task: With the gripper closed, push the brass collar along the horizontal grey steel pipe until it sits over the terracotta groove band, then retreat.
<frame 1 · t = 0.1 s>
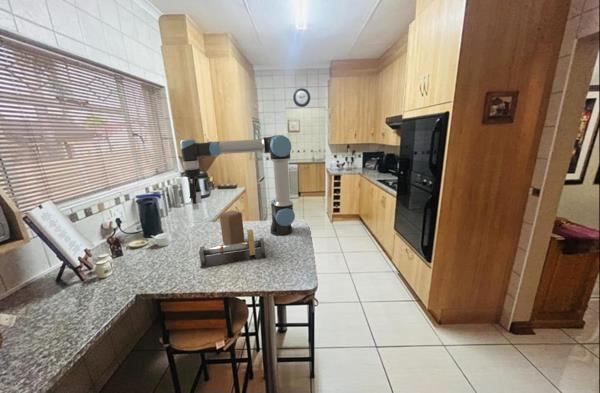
hand: (197, 206, 140), 28 cm above the kitchen counter, fingers open, 13 cm apart
wooden block: (234, 243, 156), on the kitchen counter
pipe rig: (234, 257, 138), on the kitchen counter
collar: (251, 241, 138), point 8 cm above the kitchen counter, slide at 0.0 cm
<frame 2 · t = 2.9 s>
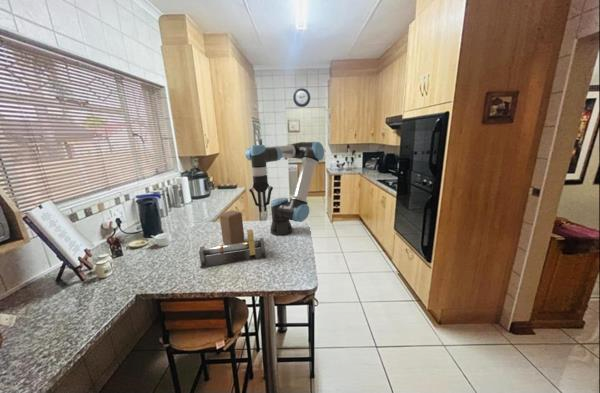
hand: (263, 217, 136), 21 cm above the kitchen counter, fingers closed
nothing on the kitchen counter moved.
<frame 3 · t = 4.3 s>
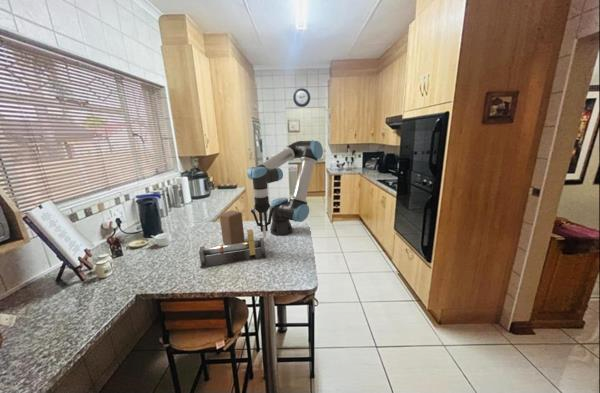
hand: (264, 236, 139), 10 cm above the kitchen counter, fingers closed
nothing on the kitchen counter moved.
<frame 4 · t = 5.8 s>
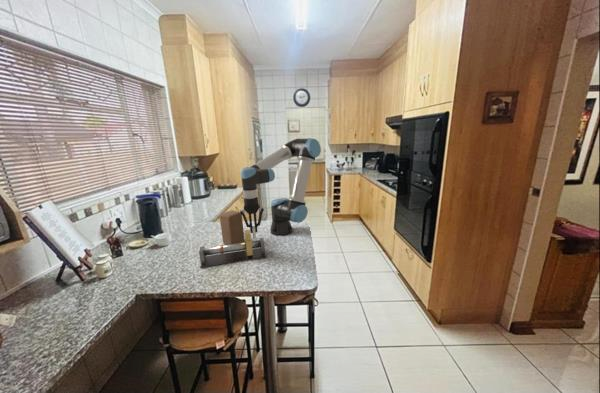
hand: (254, 237, 138), 10 cm above the kitchen counter, fingers closed
collar: (248, 242, 138), point 8 cm above the kitchen counter, slide at 1.5 cm, touching gripper
everything else where it was.
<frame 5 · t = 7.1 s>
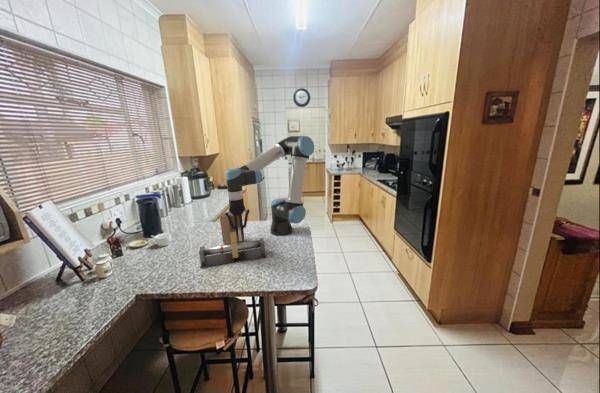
hand: (240, 239, 136), 10 cm above the kitchen counter, fingers closed
collar: (234, 244, 136), point 8 cm above the kitchen counter, slide at 9.1 cm, touching gripper
everything else where it was.
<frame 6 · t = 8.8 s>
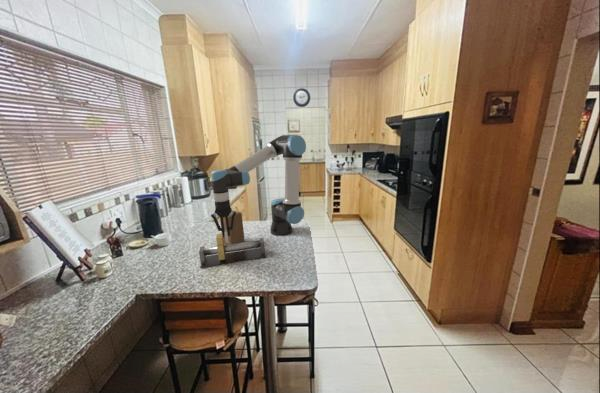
hand: (227, 241, 134), 10 cm above the kitchen counter, fingers closed
collar: (220, 246, 134), point 8 cm above the kitchen counter, slide at 16.2 cm, touching gripper
everything else where it was.
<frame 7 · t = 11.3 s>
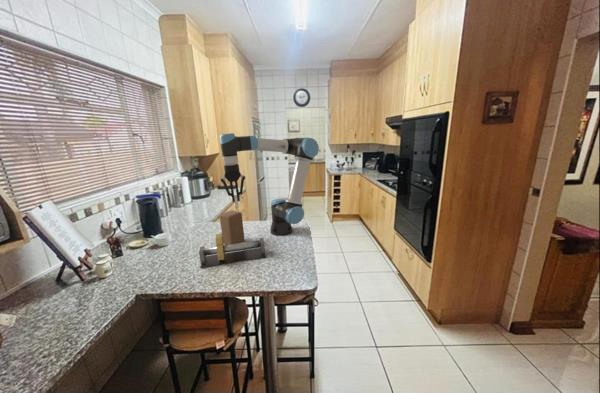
hand: (237, 207, 135), 28 cm above the kitchen counter, fingers closed
collar: (220, 246, 134), point 8 cm above the kitchen counter, slide at 16.6 cm
everything else where it was.
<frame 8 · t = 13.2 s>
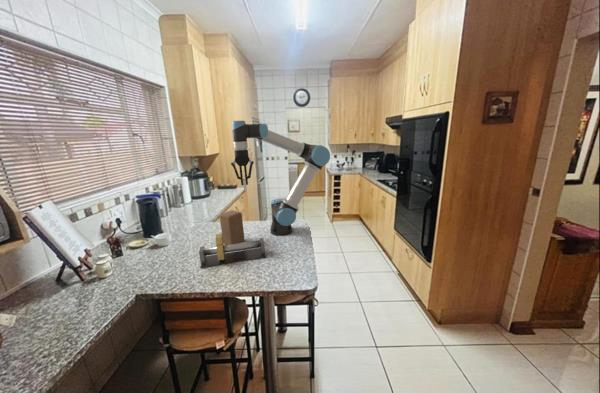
hand: (245, 190, 144), 34 cm above the kitchen counter, fingers closed
nothing on the kitchen counter moved.
at the end: collar slide at 16.6 cm; collar touching nothing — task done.
